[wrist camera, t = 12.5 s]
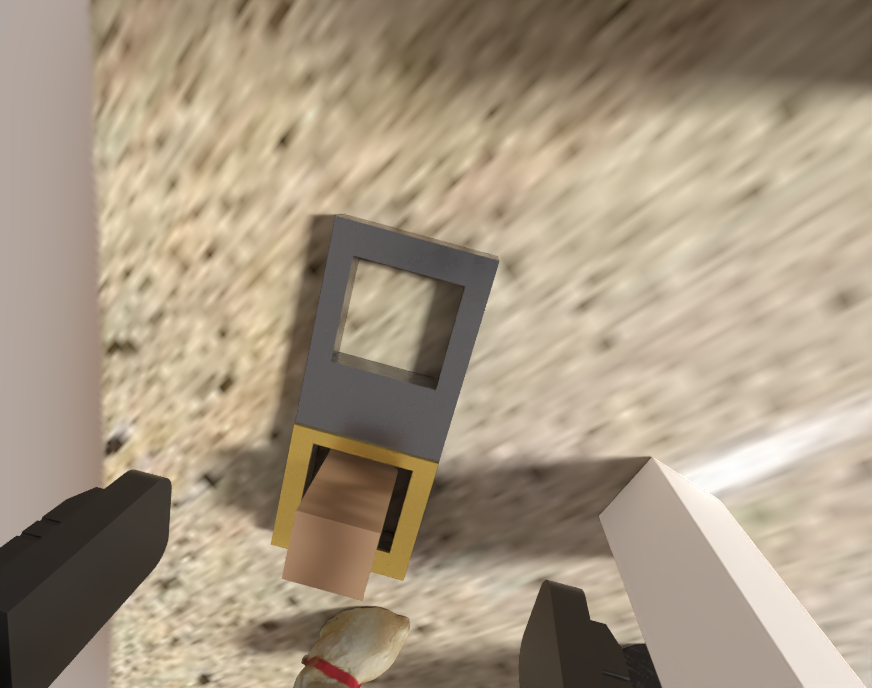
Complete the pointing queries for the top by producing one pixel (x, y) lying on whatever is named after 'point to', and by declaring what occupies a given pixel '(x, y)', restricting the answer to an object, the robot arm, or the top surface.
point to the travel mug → (641, 667)
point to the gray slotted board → (382, 380)
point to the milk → (711, 593)
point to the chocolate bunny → (353, 649)
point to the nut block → (340, 524)
